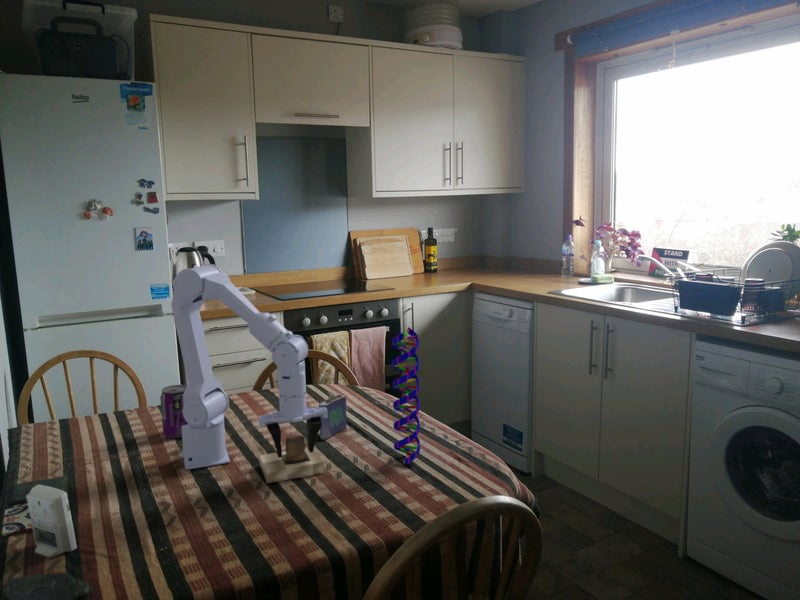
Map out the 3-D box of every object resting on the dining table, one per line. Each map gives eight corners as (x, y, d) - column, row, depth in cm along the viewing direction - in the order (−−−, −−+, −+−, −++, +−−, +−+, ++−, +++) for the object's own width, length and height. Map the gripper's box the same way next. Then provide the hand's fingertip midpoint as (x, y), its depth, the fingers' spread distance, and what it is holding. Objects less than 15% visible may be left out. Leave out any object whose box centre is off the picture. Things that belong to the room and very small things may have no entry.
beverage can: (187, 439, 156) (183, 392, 154) (158, 439, 156) (154, 393, 154) (197, 429, 163) (193, 384, 161) (169, 429, 163) (166, 384, 161)
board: (267, 483, 132) (266, 471, 132) (260, 466, 141) (259, 455, 140) (323, 473, 137) (323, 462, 136) (313, 457, 145) (313, 446, 145)
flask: (325, 441, 154) (324, 398, 152) (316, 438, 156) (314, 396, 154) (349, 429, 162) (348, 388, 160) (340, 426, 163) (339, 386, 162)
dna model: (418, 467, 139) (416, 332, 134) (391, 465, 140) (389, 332, 135) (422, 455, 145) (421, 326, 140) (397, 454, 146) (394, 326, 141)
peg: (288, 474, 137) (287, 443, 135) (284, 466, 140) (283, 436, 139) (307, 470, 138) (306, 440, 137) (303, 463, 142) (302, 433, 141)
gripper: (261, 403, 130) (264, 466, 132) (330, 394, 135) (332, 454, 137) (255, 393, 136) (259, 453, 139) (322, 385, 141) (324, 442, 144)
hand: (295, 453), depth 138 cm, fingers open, 6 cm apart
